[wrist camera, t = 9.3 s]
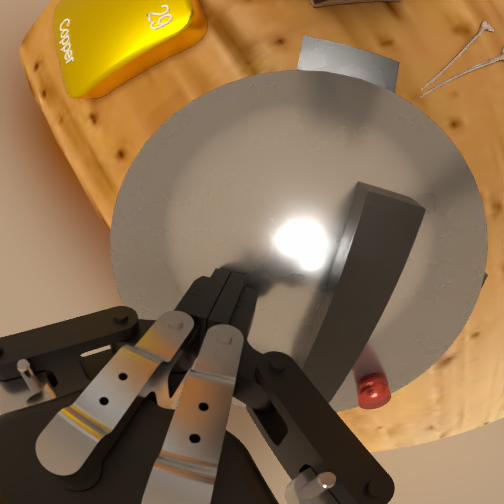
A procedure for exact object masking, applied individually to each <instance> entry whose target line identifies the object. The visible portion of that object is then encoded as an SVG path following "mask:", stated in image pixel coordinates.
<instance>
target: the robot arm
mask: <svg viewBox="0 0 504 504" xmlns="http://www.w3.org/2000/svg"><path fill="white" fill-rule="evenodd" d="M246 283H247V276H246V275H242V274H238V273H234V272H230V271H226V270H222V269H218V268H216V269H215V270H214V272H213V273H212V275H211V277H206V276H201V277H199V278H198V279H196V280H194V282H193V283H192V285H191V286H190V288H189V289H188V290H187V292H186V293H185V295H184V296H183V298H182V299H181V300H180V302H179V303H178V305H177V306H176V308H175V309H174V311H168V312H166V313H164V314H162V315H161V316H160V317H159V318H158V319H157V320H146V319H138V314H137V312H136V311H135V310H134V309H132V308H130V307H127V306H117V307H113V308H109V309H106V310H102V311H99V312H95V313H91V314H88V315H84V316H80V317H77V318H73V319H69V320H66V321H63V322H59V323H55V324H51V325H47V326H44V327H40V328H36V329H32V330H29V331H25V332H21V333H17V334H13V335H9V336H5V337H1V338H0V413H1V415H0V504H279V503H278V501H277V500H276V498H275V497H274V495H273V493H272V492H271V490H270V488H269V487H268V485H267V483H266V482H265V480H264V478H263V476H262V475H261V473H260V471H259V470H258V468H257V466H256V464H255V462H254V461H253V459H252V457H251V455H250V453H249V452H248V450H247V449H246V447H245V446H244V445H243V444H242V443H241V442H240V440H238V439H237V438H236V437H235V436H234V435H233V434H231V433H230V432H228V431H227V430H226V425H227V421H228V416H229V411H230V406H231V401H232V397H234V398H236V399H238V400H239V401H241V402H243V403H244V404H246V409H247V411H248V413H249V414H250V416H251V418H252V419H253V421H254V423H255V424H256V426H257V427H258V429H259V431H260V432H261V434H262V435H263V437H264V439H265V440H266V442H267V443H268V445H269V447H270V448H271V450H272V451H273V453H274V454H275V456H276V457H277V459H278V460H279V462H280V463H281V465H282V466H283V468H284V469H285V470H286V472H287V474H288V475H289V476H290V478H291V479H292V481H291V482H290V483H289V484H288V485H287V487H286V490H285V498H286V500H287V503H288V504H387V503H388V502H389V501H390V500H391V498H392V497H393V494H394V489H395V487H394V482H393V480H392V478H391V477H390V475H389V474H387V472H386V471H385V470H384V469H383V468H382V466H381V465H380V464H379V463H378V462H377V461H376V459H375V458H374V457H373V456H372V455H371V454H370V453H369V451H368V450H367V449H366V448H365V447H364V446H363V444H362V443H361V442H360V441H359V440H358V438H357V437H356V436H355V435H354V434H353V432H352V431H351V430H350V429H349V428H348V427H347V425H346V424H345V423H344V422H343V420H342V419H341V418H340V417H339V416H338V414H337V413H336V412H335V411H334V410H333V408H332V407H331V406H330V405H329V403H328V402H327V401H326V400H325V399H324V397H323V396H322V395H321V394H320V392H319V391H318V390H317V389H316V387H315V386H314V385H313V384H312V382H311V381H310V380H309V379H308V377H307V376H306V375H305V374H304V372H303V371H302V370H301V368H300V367H299V366H298V365H297V363H296V362H295V361H294V360H293V359H292V358H291V357H290V356H289V355H287V354H285V353H282V352H278V351H270V352H267V353H264V354H262V353H260V352H258V351H257V350H255V349H254V348H253V347H252V346H251V345H250V344H249V343H248V341H247V339H248V335H249V332H250V329H251V325H252V322H253V318H254V313H255V309H256V304H257V300H258V294H257V291H256V289H254V288H250V287H246ZM107 345H110V347H111V349H108V350H105V351H102V352H99V353H95V354H92V355H89V356H86V357H81V356H80V355H81V354H82V353H85V352H88V351H91V350H94V349H98V348H101V347H104V346H107ZM196 358H197V361H196V364H195V366H194V369H193V370H192V366H193V364H194V362H195V359H196ZM183 386H184V387H183ZM182 387H183V390H182V392H181V395H180V398H179V401H178V404H177V407H176V409H175V410H173V409H171V408H172V405H173V403H174V401H175V399H176V397H177V396H178V394H179V392H180V391H181V389H182Z"/></svg>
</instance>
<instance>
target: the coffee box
mask: <svg viewBox="0 0 504 504" xmlns="http://www.w3.org/2000/svg"><path fill="white" fill-rule="evenodd" d="M373 1H403V0H310V2H311V4H312V6H314V7H320V6H328V5H335V4H344V3H356V2H373Z"/></svg>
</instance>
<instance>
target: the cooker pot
mask: <svg viewBox="0 0 504 504" xmlns="http://www.w3.org/2000/svg"><path fill="white" fill-rule="evenodd" d="M398 68H399V62H398V61H395V60H392V59H389V58H387V57H384V56H381V55H378V54H375V53H372V52H369V51H365V50H362V49H359V48H355V47H352V46H348V45H344V44H341V43H337V42H332V41H328V40H324V39H319V38H314V37H309V36H303V41H302V47H301V52H300V57H299V63H298V68H297V70H308V71H326V72H331V73H337V74H341V75H346V76H351V77H355V78H359V79H362V80H365V81H367V82H370V83H372V84H375V85H377V86H380V87H382V88H385V89H387V90H389V91H391V92H393V93H395V88H396V82H397V75H398ZM487 276H488V275H487V274H486V273H485V274H484V278H483V282H482V286H483V284H484V282H485V280H486V278H487ZM482 286H481V288H482Z"/></svg>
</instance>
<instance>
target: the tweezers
mask: <svg viewBox="0 0 504 504" xmlns="http://www.w3.org/2000/svg"><path fill="white" fill-rule="evenodd" d="M484 30H489V31H493V32H494V29H493V28H492V27H491V26H490V25H489V24H487V23H486V22H485V21H484V22H483V23H482V25H481V27H480V30H479V31H478V33H477V34H476V35H475V36H474V37H473V39H472V40H471V41H470V42H469V43H468V44H467V45H466V46H465V47H464V49H463V50H462V51H461V52H460V53H459V54H458V55H457V56H456V57H455V58H454V59H453V60H452V61H451V62H450V63H449V64H448V65H447V66H446V67H445V68H444V69H443V70H442V71H441V72H439V73H438V74H437V75H436V76H435V77H434V78H433V79H432V80H431V81H430V82H428V83H427V84H426V85H425V86H424V87H423V88H422V89H421V90H423V89H424V88H425V87H426V86H428V85H429V84H430V83H432V82H433V81H435V80H436V79H437V78H438V77H439V76H440V75H441V74H442V73H443V72H444V71H445V70H446V69H447V68H448V67H449V66H450V65H451V64H452V63H453V62H454V61H455V60H456V59H457V58H458V57H459V56H460V55H461V54H462V53H463V52H464V51H465V50H466V49H467V48H468V47H469V46H470V45H471V43H472V42H473V41H475V40H476V39H477V38H478V37H479V36H480V34H481V33H482V32H483V31H484ZM499 60H504V47H503V51H502V55H501V56H498V57H495V58H492V59H489V60H487V61H485V62H482V63H480V64H477V65H475V66H474V67H473V68H471V69H469V70H467V71H465V72H463V73H460V74H458V75H456V76H454V77H452V78H450V79H447V80H446V81H444V82H441V83H440V84H438V85H437V86H435V87H433V88H432V89H430V90H429V91H427V92H426V93H425V94H423V95H422V96H421V97H423V96H424V95H426V94H428V93H429V92H431V91H433V90H435V89H436V88H438V87H440V86H442V85H443V84H445V83H447V82H450V81H451V80H453V79H455V78H458V77H459V76H461V75H464V74H466V73H468V72H471V71H473V70H476V69H478V68H481V67H483V66H486V65H489V64H491V63H494V62H496V61H499Z"/></svg>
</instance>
